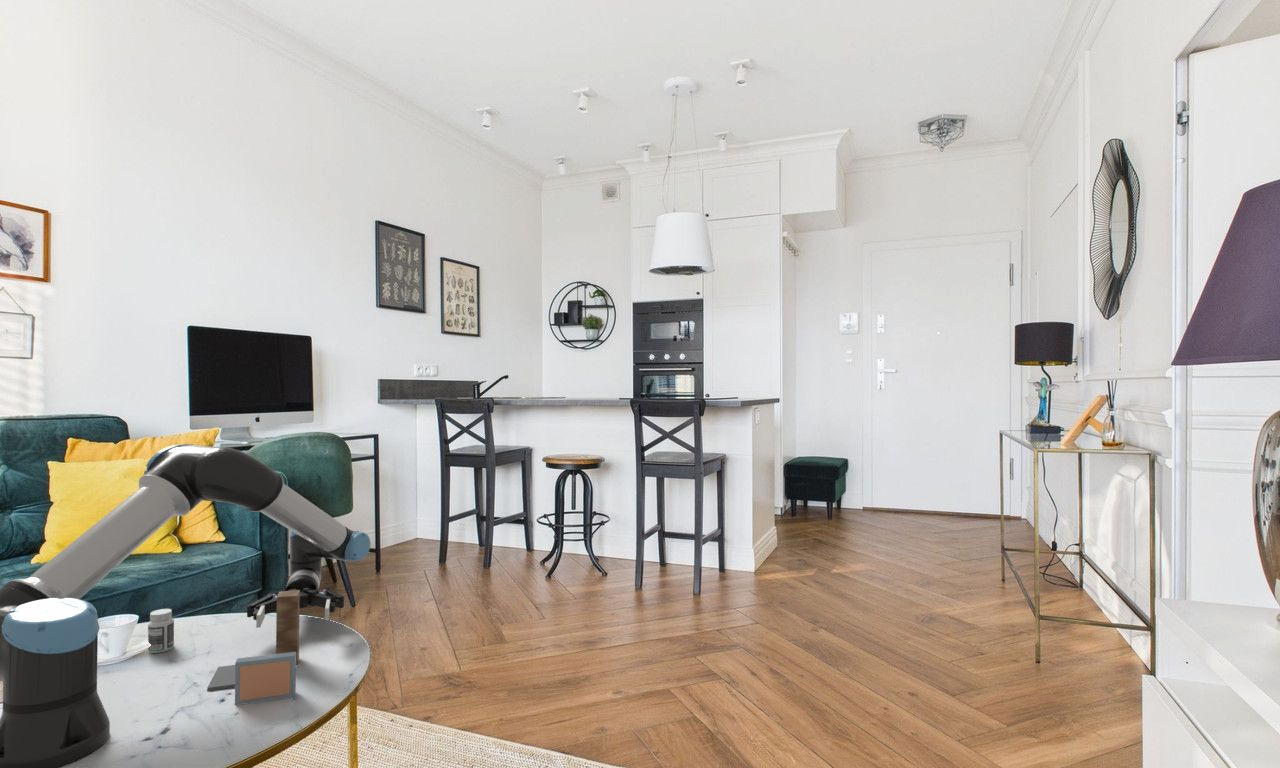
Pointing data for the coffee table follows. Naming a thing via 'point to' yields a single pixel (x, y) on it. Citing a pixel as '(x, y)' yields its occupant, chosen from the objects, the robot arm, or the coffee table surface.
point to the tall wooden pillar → (288, 622)
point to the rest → (223, 678)
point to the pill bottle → (161, 631)
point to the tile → (265, 678)
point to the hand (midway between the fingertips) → (293, 617)
